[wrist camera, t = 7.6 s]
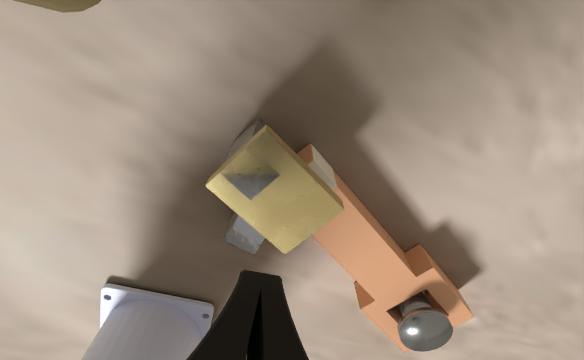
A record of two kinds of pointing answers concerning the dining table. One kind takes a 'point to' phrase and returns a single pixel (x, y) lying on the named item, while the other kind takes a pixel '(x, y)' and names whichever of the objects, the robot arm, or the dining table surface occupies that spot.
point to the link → (381, 260)
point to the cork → (63, 4)
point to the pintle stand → (298, 216)
